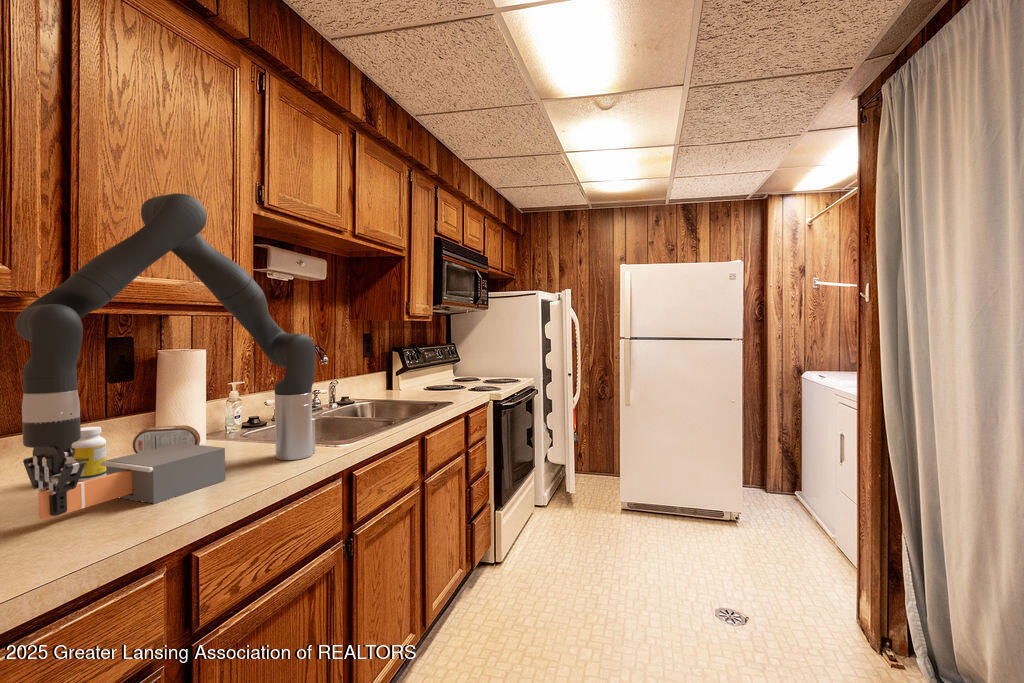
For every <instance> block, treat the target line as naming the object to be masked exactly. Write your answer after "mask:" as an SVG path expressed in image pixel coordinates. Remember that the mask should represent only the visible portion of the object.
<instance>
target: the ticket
mask: <svg viewBox="0 0 1024 683" xmlns="http://www.w3.org/2000/svg"><path fill="white" fill-rule="evenodd" d="M132 493H133V470H125V471H121V472H117V473H113V474H109V475H105V476H102V477H98V478H94V479H90V480H86V481H78V483H77V485H76V488H75V489H71V490H69V491H67V511H66V512H65V513H63V514H60V515H56V516H52V515H50V503H49V495H50V494H49V490H47V491H43V492H39V491H38V494H37V495H38V496H37V498H38V499H37V500H38V520H40V521H41V520H42V521H45V520H48V519H51V518H55V517H59V516H61V515H62V516H63V515H65V514H69V513H72V512H75V511H79V510H81V509H85V508H89V507H92V506H95V505H99V504H102V503H104V502H108V501H111V500H115V499H120V498H119V497H122V496H125V495H129V494H132Z"/></svg>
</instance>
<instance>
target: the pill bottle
mask: <svg viewBox="0 0 1024 683" xmlns="http://www.w3.org/2000/svg"><path fill="white" fill-rule="evenodd" d="M80 428H81V438H80V439H79V440H78V441H76V442H74V443H73V444H72V449H73V452H74V457H73V458H74V459H75V461H76V462H78V461H83V462H84V468H83V470H82V473H81V475H80V478H79V480H78V482H82V481H86V480H90V479H94V478H98V477H102V476H106V466H101V462H102V461H106V460H108V459H107V456H108V455H107V440H106V439H105V438H104V437H103V436H101V434H102V427H101V426H84V427H80Z"/></svg>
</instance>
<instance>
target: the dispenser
mask: <svg viewBox="0 0 1024 683" xmlns="http://www.w3.org/2000/svg"><path fill="white" fill-rule="evenodd" d="M101 466H106V475H109V474H113V473H117V472H121V471H125V470H133V493H132V494H129V495H125V496H122V497H120V498H125V499H124V500H126V499H131V500H130V501H132V500H136V501H135V502H138V501H143V502H142V503H144V502H148V503H147V504H150V503H156V504H158V502H159V503H161V501H162V502H165V501H168V500H171V499H174V498H176V497H175V496H177V497H180V496H183V495H185V493H186V494H189V493H192V492H194V491H193V490H195V491H197V490H196V489H198V490H201V489H204V488H207V487H210V486H213V485H216V484H219V483H222V482H225V481H226V448H225V447H220V446H210V445H203V444H202V445H200V444H199V445H193V444H184V443H180V444H175V445H171V446H167V447H162V448H158V449H154V450H149V451H145V452H140V453H133V454H128V455H124V456H120V457H114V458H111V459H110V458H109V459H107V460H106V461H102V462H101ZM106 475H105V476H106ZM224 480H225V481H224ZM221 481H222V482H221ZM218 482H219V483H218ZM215 483H216V484H215ZM212 484H213V485H212ZM203 487H204V488H203ZM200 488H201V489H200ZM191 491H192V492H191ZM188 492H189V493H188ZM182 494H183V495H182ZM179 495H180V496H179ZM173 497H174V498H173ZM120 498H119V499H120ZM170 498H171V499H170ZM167 499H168V500H167ZM164 500H165V501H164Z"/></svg>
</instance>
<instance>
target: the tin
mask: <svg viewBox="0 0 1024 683" xmlns="http://www.w3.org/2000/svg"><path fill="white" fill-rule="evenodd" d="M180 443H184V444H193V445H200V443H201V436H200V432H198V430H197V429H195V428H194V427H193V426H189V425H184V424H183V425H182V424H181V425H165V426H149V427H146V428H143V429H142V430H141V431H139V432H138V434H136V436H135V437H134V438H133V440H132V449H133V452H134V454H136V453H140V452H145V451H149V450H154V449H158V448H162V447H167V446H171V445H175V444H180Z"/></svg>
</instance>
